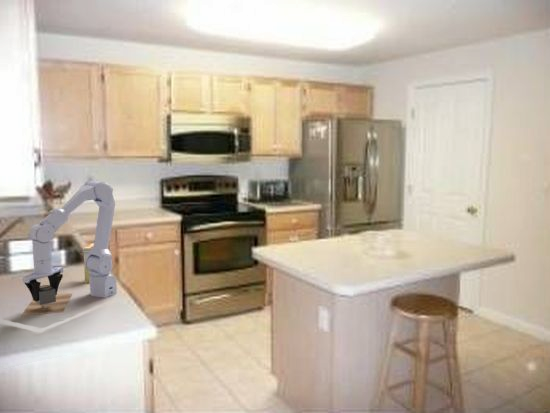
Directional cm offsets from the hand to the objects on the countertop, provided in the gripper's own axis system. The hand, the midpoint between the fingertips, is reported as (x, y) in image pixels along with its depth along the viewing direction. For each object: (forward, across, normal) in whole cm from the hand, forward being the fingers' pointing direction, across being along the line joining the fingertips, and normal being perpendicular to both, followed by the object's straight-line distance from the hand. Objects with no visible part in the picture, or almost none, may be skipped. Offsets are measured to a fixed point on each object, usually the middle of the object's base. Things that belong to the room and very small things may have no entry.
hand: (45, 297), depth 163 cm
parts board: (+5, -4, -3) cm, 7 cm away
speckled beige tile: (+4, 0, 0) cm, 4 cm away
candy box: (+5, -34, -13) cm, 37 cm away
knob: (+2, 0, 0) cm, 2 cm away
